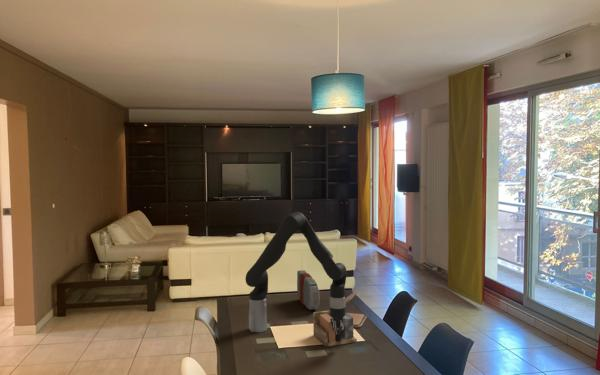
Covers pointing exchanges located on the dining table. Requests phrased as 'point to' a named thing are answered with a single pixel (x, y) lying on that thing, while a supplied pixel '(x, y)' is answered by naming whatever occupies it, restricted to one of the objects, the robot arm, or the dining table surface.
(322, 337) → the shelf
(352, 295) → the case
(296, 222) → the robot arm
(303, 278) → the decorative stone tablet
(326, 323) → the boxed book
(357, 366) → the dining table surface
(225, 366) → the dining table surface
